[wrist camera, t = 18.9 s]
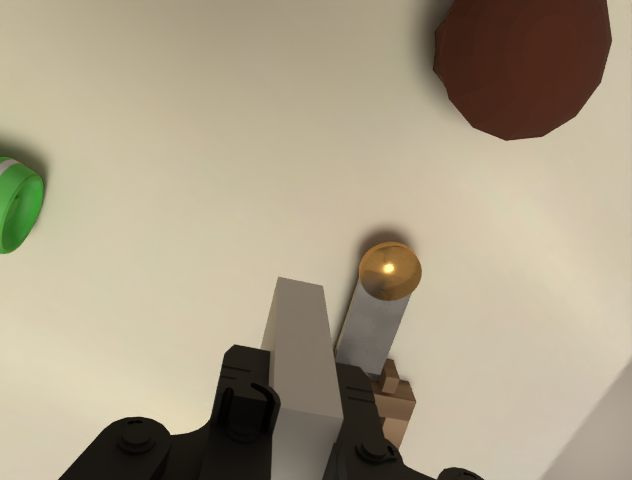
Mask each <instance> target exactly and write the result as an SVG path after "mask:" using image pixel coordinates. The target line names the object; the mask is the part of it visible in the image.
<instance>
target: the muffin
mask: <svg viewBox="0 0 632 480" xmlns="http://www.w3.org/2000/svg"><path fill="white" fill-rule="evenodd" d="M611 42H612V37H611V30H610V22H609V15H608V7H607V0H456V1H455V3H454V4H453V6H452V7H451V9H450V11H449V12H448V14H447V15H446V19H445V20H444V21H443V23H442V24H441V25H440V26H439V27H438V29H437V30H436V31H435V48H436V51H435V59H434V66H433V71H434V72H435V73H436V74H437V76H438V77H439V78H440V80H441V81H442V82H443V83H444V85H445V87H446V89H447V93H448V97H449V100H450V101H451V102H452V103H453V104H454V105H455V107H456V108H457V109H458V110H459V111H460V113H461V114H462V115H463V116H464V117H465V119H466V120H467V121H468V122H469V123H470V125H471V126H472V127H473V128H475V129H478V130H480V131H483V132H485V133H488V134H490V135H493V136H496V137H498V138H501V139H503V140H506V141H508V140H517V139H526V138H535V137H543V136H544V135H546V134H548V133H549V132H551V131H553V130H554V129H556V128H557V127H559V126H561V125H562V124H564V123H566V122H567V121H569V120H571V119H572V118H574V117H576V115H577V114H578V113H579V111H580V110H581V109H582V107H583V106H584V105H585V103H586V102H587V101H588V99H589V98H590V96H591V95H592V94H593V92H594V91H595V90H596V88H597V87H598V86H599V84H600V83H601V80H602V76H603V72H604V69H605V65H606V61H607V57H608V54H609V50H610V46H611Z"/></svg>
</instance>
